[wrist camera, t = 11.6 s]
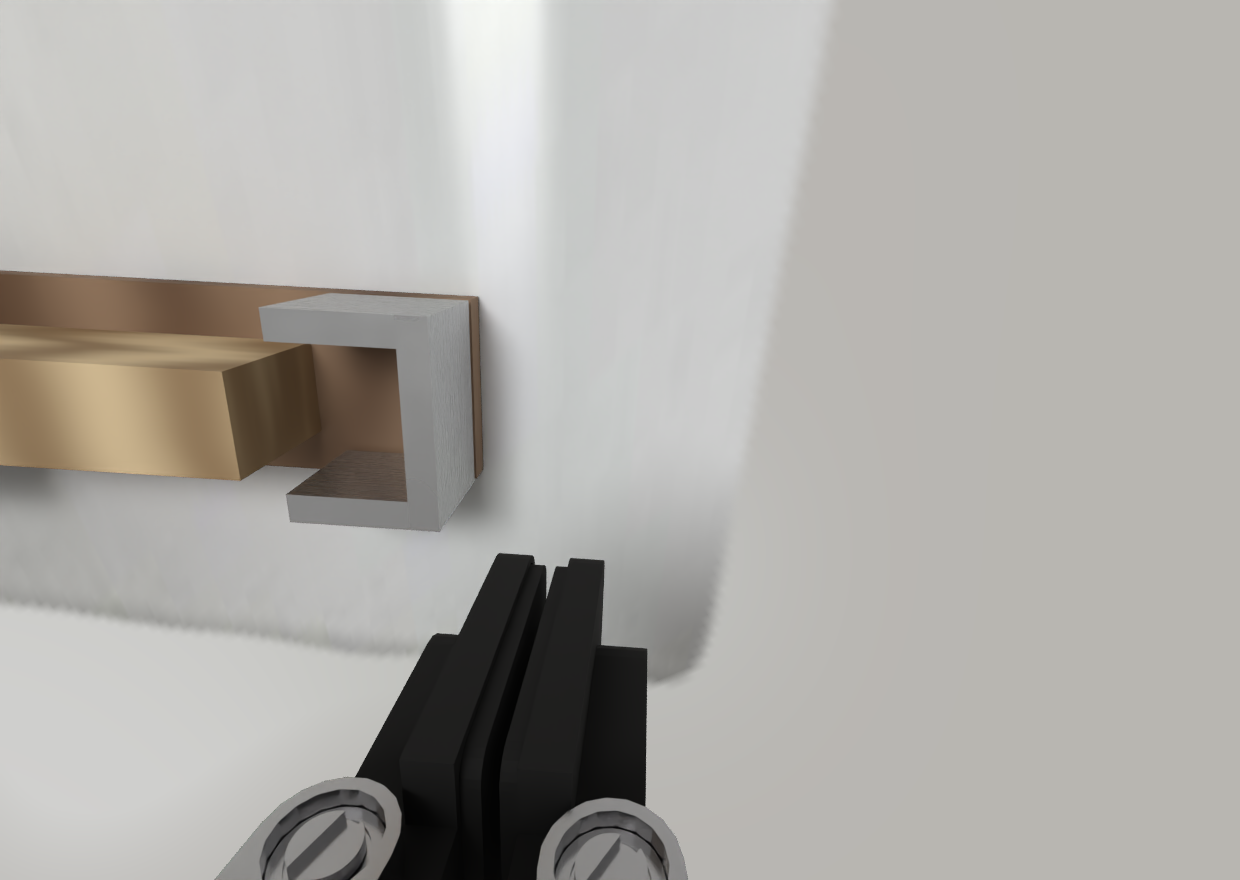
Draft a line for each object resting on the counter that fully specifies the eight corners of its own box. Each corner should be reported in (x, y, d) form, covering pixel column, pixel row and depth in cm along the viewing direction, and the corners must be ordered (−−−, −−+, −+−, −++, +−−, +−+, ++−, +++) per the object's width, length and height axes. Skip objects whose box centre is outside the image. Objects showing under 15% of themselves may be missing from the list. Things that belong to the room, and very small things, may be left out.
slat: (-24, 409, 24) (-188, 453, 19) (-52, 320, 23) (-233, 344, 18) (321, 430, 24) (240, 480, 19) (311, 342, 23) (221, 371, 18)
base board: (-77, 434, 26) (-104, 441, 25) (-137, 263, 23) (-170, 264, 22) (483, 469, 25) (476, 478, 24) (478, 296, 23) (470, 299, 22)
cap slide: (349, 473, 24) (289, 522, 20) (330, 293, 22) (258, 307, 18) (474, 481, 24) (439, 531, 20) (468, 300, 22) (427, 316, 18)
